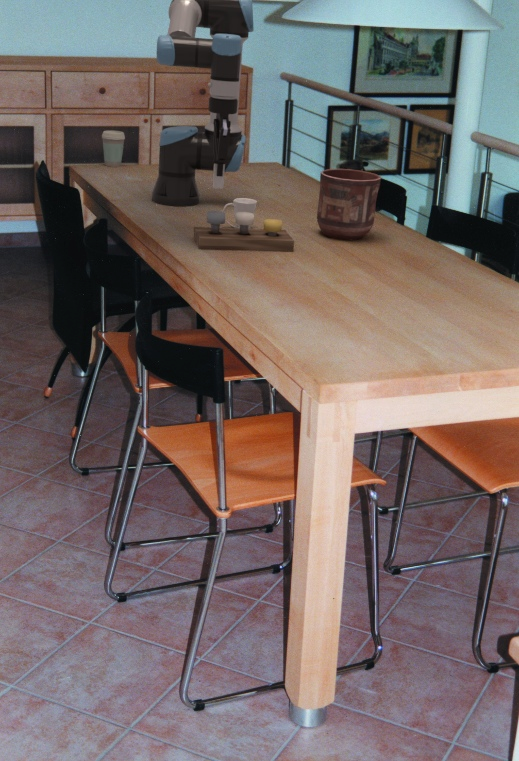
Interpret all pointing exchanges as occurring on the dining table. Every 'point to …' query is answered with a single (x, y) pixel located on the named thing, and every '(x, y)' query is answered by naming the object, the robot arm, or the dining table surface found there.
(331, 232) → the pottery
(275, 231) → the mustard button
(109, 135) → the coffee cup
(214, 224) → the slate button
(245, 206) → the cup
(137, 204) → the dining table surface
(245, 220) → the cream button
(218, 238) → the panel
